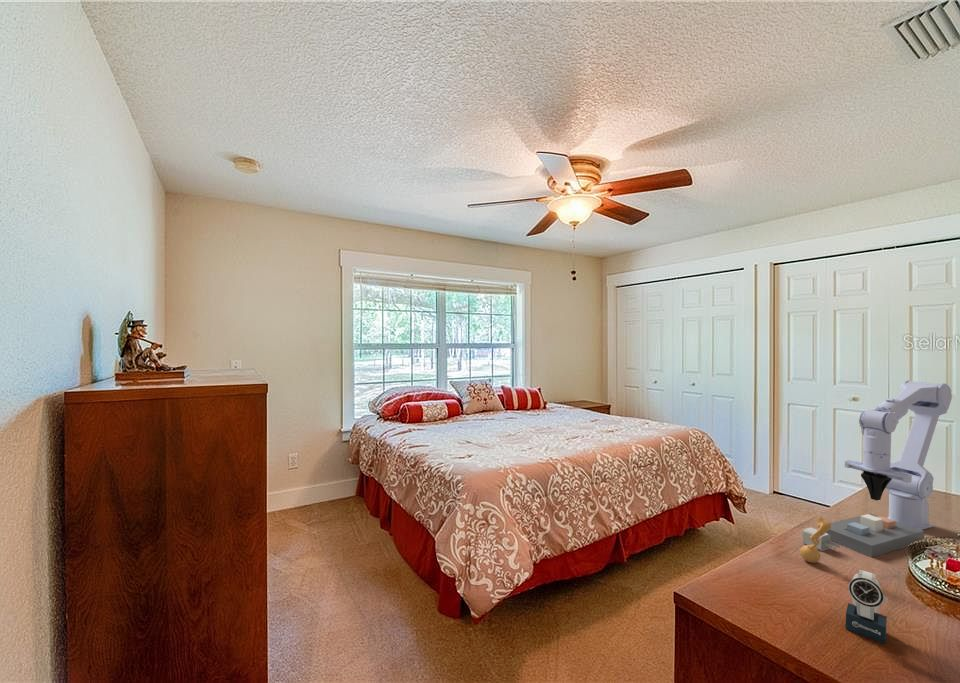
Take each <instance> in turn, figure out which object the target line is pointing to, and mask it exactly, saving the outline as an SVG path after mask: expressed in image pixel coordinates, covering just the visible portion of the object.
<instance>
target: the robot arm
mask: <svg viewBox="0 0 960 683" xmlns="http://www.w3.org/2000/svg"><path fill="white" fill-rule="evenodd" d="M952 398H953V395H952V388H951V386H950V385H948V383H943V382H942V383H938V382H937V383H936V382H935V383H934V382H926V381H925V382H923V381H912V380H911V381H910V380H904V381H903V382H902V383H901V384H900V387H899V393H898V394H897V395H896V396H895V397H894V398H892V397H891V398H890V397H888V398H886V399H885V400H883V401H882V402H880V404H878V405H877V406H875V407H874V408H873V409H866V410H863V411H861V413H860V415H859V419H858V423H859V426H860V431H861V432H860V433H861V434H862V435H863V448H862V449H863V450H862V452H863V453H862V454H863V455H862V456H863V457H862V462H861V461H860V462H858V461H854V460H849V459H847V460H844V468H847V469H853V470H858V471H861V472H862V473H860V477H861V478H862V480H863V481H864V483H865V485H866V488H867V490H868V493H869V497H870V499H871V500H873V501H881V499H882V495H883V493H884V491H885V489H886V492H888V516H887V517H886V518H888V519H891V520H894V521H896V522H899V523H902V524H905V525H908V526H911V527H914V528H917V529H920V530H923V531H924V530H926V529H930V528H933V524H931V523H929V521H930V519H929V518H930V517H929V516H930V505H929V502H928V500H927V499H928V498H930V497H931V496H932V495H933V489H934V486H933V485H934V476H933V474H932V473H931V472H930V471H929V470H927V469H926V468H925V467H924V465H925V462H926V458H927V455H928V451H929V449H930V446H931V442H932V440H933V436H934V433H935V430H936V426H937V424H938V421H939V417H940V416H942V415H945V414H947V412H948V410H949V408H950V404H951V402H952ZM909 411H911V412H914V417H913V420H912V423H911V425H910V426H911V427H910V429H909V432H908V435H907V438H906V441H905V444H904V446H903V450H902V453H901V457H900V459H898V460H895V461H892V460H891V456H892V452H891V451H892V433H894V432H895V430H896V429H897V426H898V424H899V420H901V419H902V418H903V417H905V416H906V415H907V414H908V412H909ZM891 461H892V462H891Z"/></svg>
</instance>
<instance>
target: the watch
mask: <svg viewBox="0 0 960 683" xmlns="http://www.w3.org/2000/svg"><path fill="white" fill-rule="evenodd" d="M876 575H877V574H876V573H872V572H869V571H865V570H864V569H863V570H862V569H859V571H858V573H855V574H854V576H853V578H852V579H851V580H850V582H849V583H848V591H849V594H850V596H851V600H852V602H853V604H852V603H847V607H846V612H845V629H846V630H848V631H850V632H853V633H856V634H858V635H861V636H863V637H865V638H868V639H871V640H873V641H876V642H879V643H882V644H884V645H886V644H887V643H886V642H887V622H888V620H887V619H888V618H887V616H886V615H884V614H881V613H878V611H879V610H880V607H882V605H883V604H884V602H888V596H885V595H884V592H883V590H882V587H881V585H880V582H879V580H878V579H877V578H876Z"/></svg>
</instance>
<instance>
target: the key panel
mask: <svg viewBox="0 0 960 683" xmlns="http://www.w3.org/2000/svg"><path fill="white" fill-rule="evenodd" d="M868 514H869V515H872V516H875V517H878V516H879V515H877V514H874V513H868ZM860 516H861V515H858V516H853V517H850V518H846V519H842V520H838V521H832V522H829V523H830V524H831V528H830V529H829V530H828V531H827V532H826V533H827V534H829V535H830V541H831V542H833V543H836V544H838V545H840V546H842V547H845V548H847V549H850V550H853V551H855V552H858V553H860V554H862V555H864V556H867V557H870V558H874V557H877V556H881V555H884V554H888V553H891V552H894V551H897V550H900V549H901V550H902V549H904V548H907V546H908V545H910V544H911V543H913V542H915V541H918V540H922V539H924V540H925V530H924V529H923V530H920V529H917V528H914V527H911V526H908V525H905V524H902V523H899V522H896V521H895V528H892V529H887V528H884V527H883V531H881V532H877V533H875V532H873V531H870V530H869V535H866V536H861V535H858V534H855V533H853V532H850V531H847V524H849V523H853V522H856V523H859V524H860ZM908 547H909V546H908Z"/></svg>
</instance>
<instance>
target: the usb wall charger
mask: <svg viewBox="0 0 960 683" xmlns="http://www.w3.org/2000/svg"><path fill="white" fill-rule="evenodd" d="M817 531H818V529H816V528H815V527H807V528H804V529H803V531H802V543H803V544H804V545H811V544H812V545H814V543H813V542H812V540H811V539H809V538H810V536H812V535H813V534H814V533H816V532H817ZM817 539H818V540H819V544H818V545H817V546H816V547H815V548H816V549H817V550H818V551H821V552H824V551H826V550H829V549H833V550H836V548H839V549H840V546H841V545H840V544H838V543H835V542H833V541H830V535H829V534H827V533H825V534H824V535H822V536H820V537H819V538H817ZM814 540H815V539H814Z"/></svg>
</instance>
